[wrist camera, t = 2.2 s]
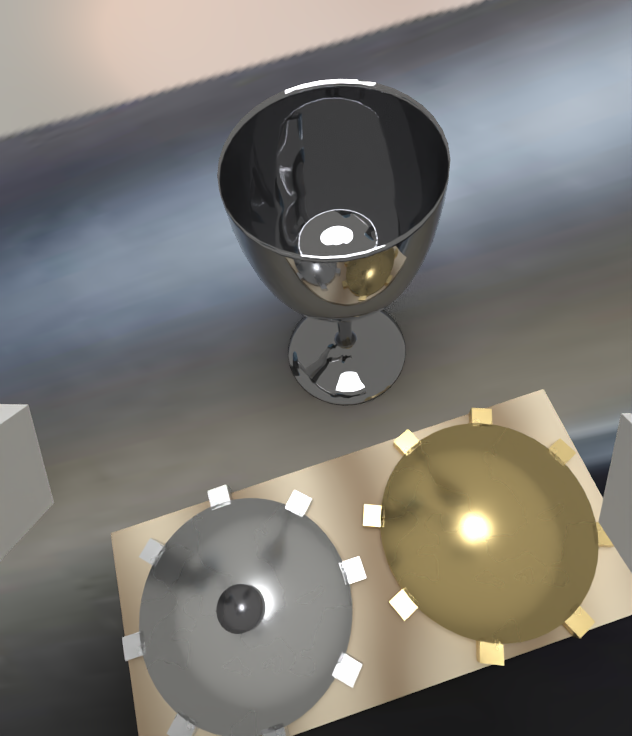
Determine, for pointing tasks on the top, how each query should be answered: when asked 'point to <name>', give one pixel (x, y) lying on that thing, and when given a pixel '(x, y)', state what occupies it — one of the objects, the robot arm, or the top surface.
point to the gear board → (366, 577)
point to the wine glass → (337, 221)
